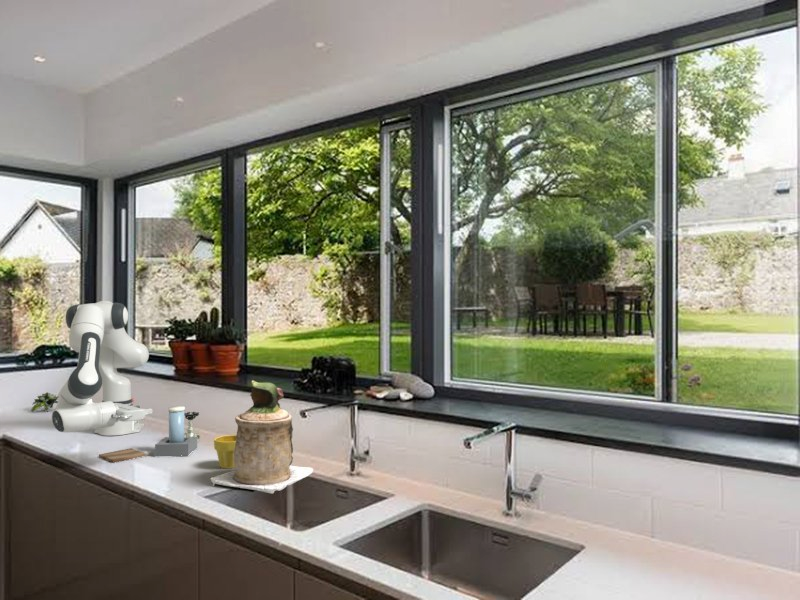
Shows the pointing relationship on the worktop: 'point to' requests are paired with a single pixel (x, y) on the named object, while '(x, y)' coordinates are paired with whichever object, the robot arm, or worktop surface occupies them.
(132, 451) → the board
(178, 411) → the blue bottle
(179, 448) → the housing
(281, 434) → the cookie jar
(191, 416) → the valve
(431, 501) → the worktop surface
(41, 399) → the green leafy plant
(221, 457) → the plant pot
